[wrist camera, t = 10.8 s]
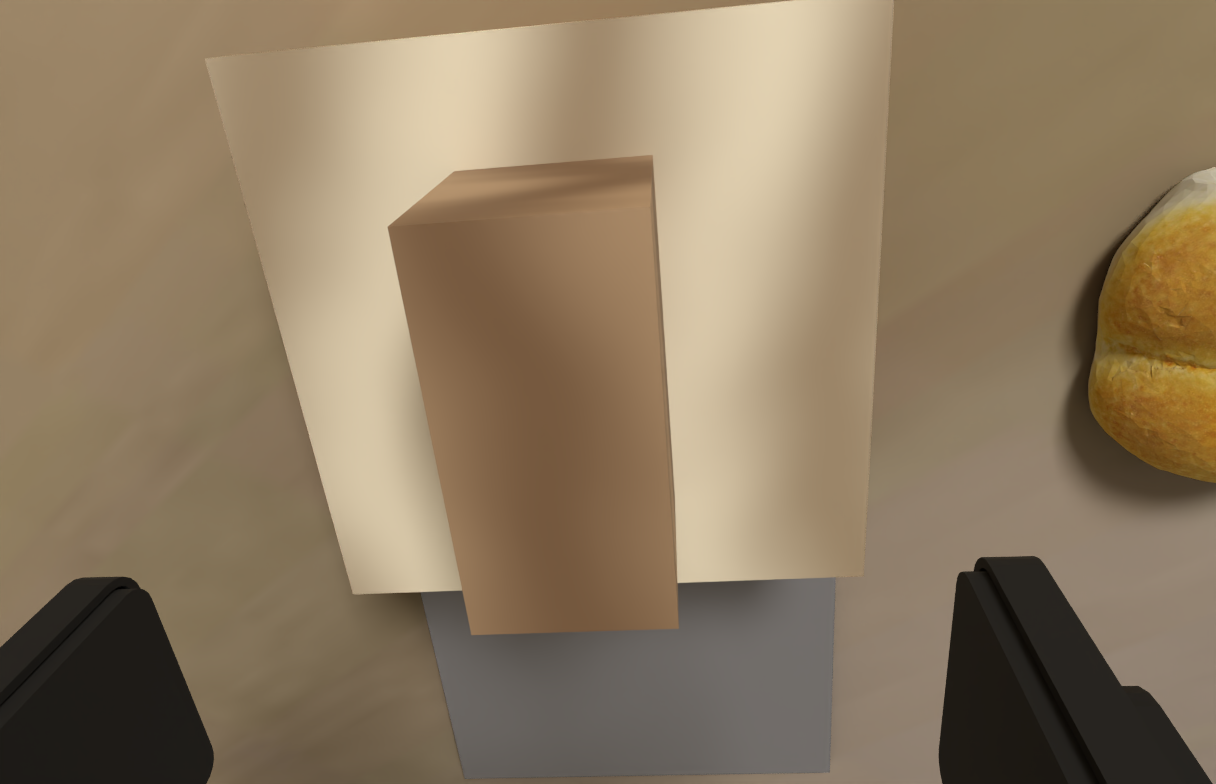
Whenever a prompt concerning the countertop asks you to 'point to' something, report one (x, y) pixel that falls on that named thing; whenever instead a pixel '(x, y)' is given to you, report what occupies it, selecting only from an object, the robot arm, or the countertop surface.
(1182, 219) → the bread roll
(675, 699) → the rubber mat
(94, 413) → the countertop surface
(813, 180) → the birch lid
